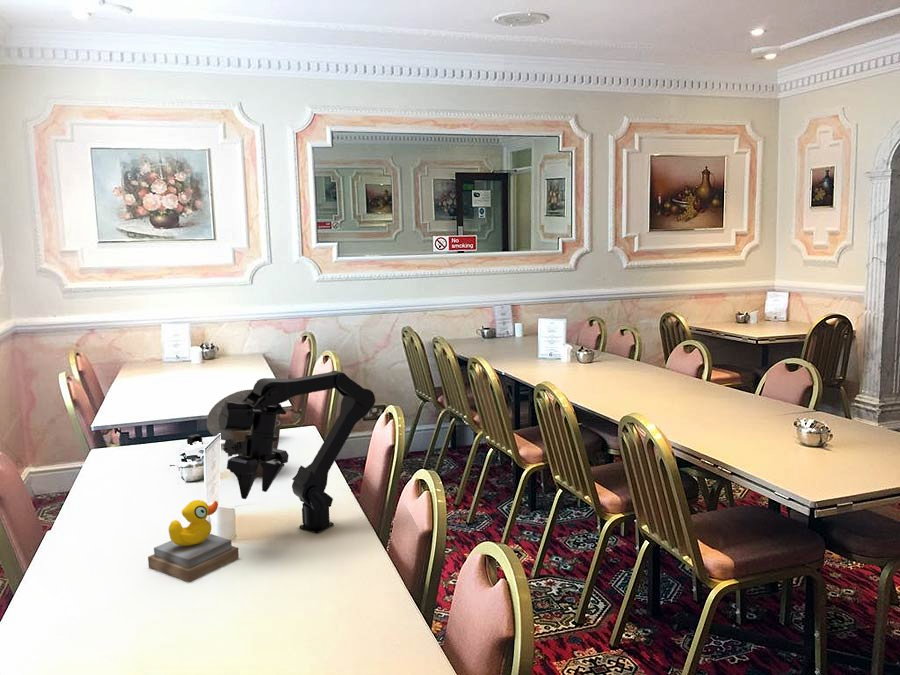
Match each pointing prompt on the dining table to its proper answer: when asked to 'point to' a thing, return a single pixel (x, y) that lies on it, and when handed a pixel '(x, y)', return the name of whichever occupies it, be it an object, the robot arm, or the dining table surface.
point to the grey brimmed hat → (216, 410)
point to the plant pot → (241, 434)
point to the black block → (194, 439)
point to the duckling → (193, 524)
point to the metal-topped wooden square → (193, 557)
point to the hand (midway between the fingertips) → (254, 495)
